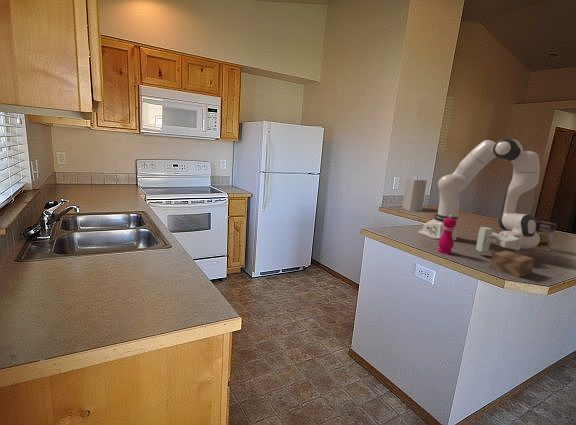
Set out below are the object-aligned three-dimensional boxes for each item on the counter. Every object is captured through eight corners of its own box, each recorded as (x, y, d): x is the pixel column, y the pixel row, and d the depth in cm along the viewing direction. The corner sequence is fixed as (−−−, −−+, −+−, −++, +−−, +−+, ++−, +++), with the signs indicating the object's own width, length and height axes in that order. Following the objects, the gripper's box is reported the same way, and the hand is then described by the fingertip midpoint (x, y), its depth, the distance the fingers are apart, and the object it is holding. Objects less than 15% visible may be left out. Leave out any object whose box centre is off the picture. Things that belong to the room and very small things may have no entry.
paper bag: (425, 212, 284) (430, 181, 279) (409, 211, 284) (414, 179, 279) (417, 208, 303) (422, 179, 297) (402, 207, 303) (406, 177, 297)
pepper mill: (433, 250, 168) (440, 213, 164) (443, 249, 171) (450, 213, 167) (445, 254, 162) (452, 216, 158) (455, 253, 165) (462, 216, 161)
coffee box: (529, 247, 188) (536, 221, 184) (531, 246, 192) (537, 220, 189) (549, 252, 182) (556, 224, 178) (550, 249, 186) (557, 223, 183)
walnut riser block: (489, 267, 147) (492, 253, 145) (502, 264, 153) (505, 250, 152) (518, 277, 137) (522, 262, 136) (531, 273, 143) (534, 258, 142)
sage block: (475, 249, 167) (480, 227, 164) (482, 249, 167) (487, 227, 165) (481, 251, 163) (485, 229, 160) (488, 251, 163) (492, 229, 161)
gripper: (493, 228, 175) (470, 227, 173) (524, 239, 155) (498, 238, 153) (491, 239, 176) (468, 238, 174) (521, 251, 156) (496, 250, 154)
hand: (482, 238), depth 163 cm, fingers closed on sage block, 4 cm apart
